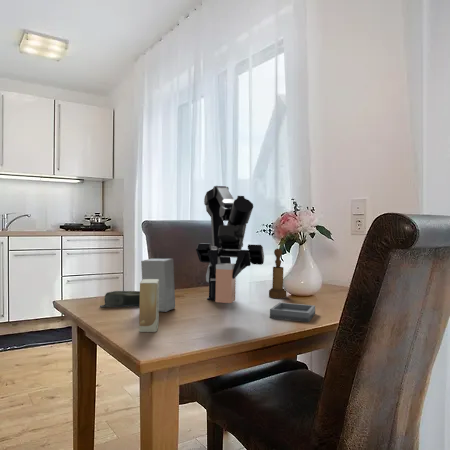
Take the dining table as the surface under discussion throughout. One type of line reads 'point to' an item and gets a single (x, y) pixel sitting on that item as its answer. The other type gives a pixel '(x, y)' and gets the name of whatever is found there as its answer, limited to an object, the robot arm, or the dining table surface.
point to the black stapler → (122, 299)
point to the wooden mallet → (277, 278)
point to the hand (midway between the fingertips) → (224, 277)
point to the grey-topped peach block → (225, 283)
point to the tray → (292, 312)
